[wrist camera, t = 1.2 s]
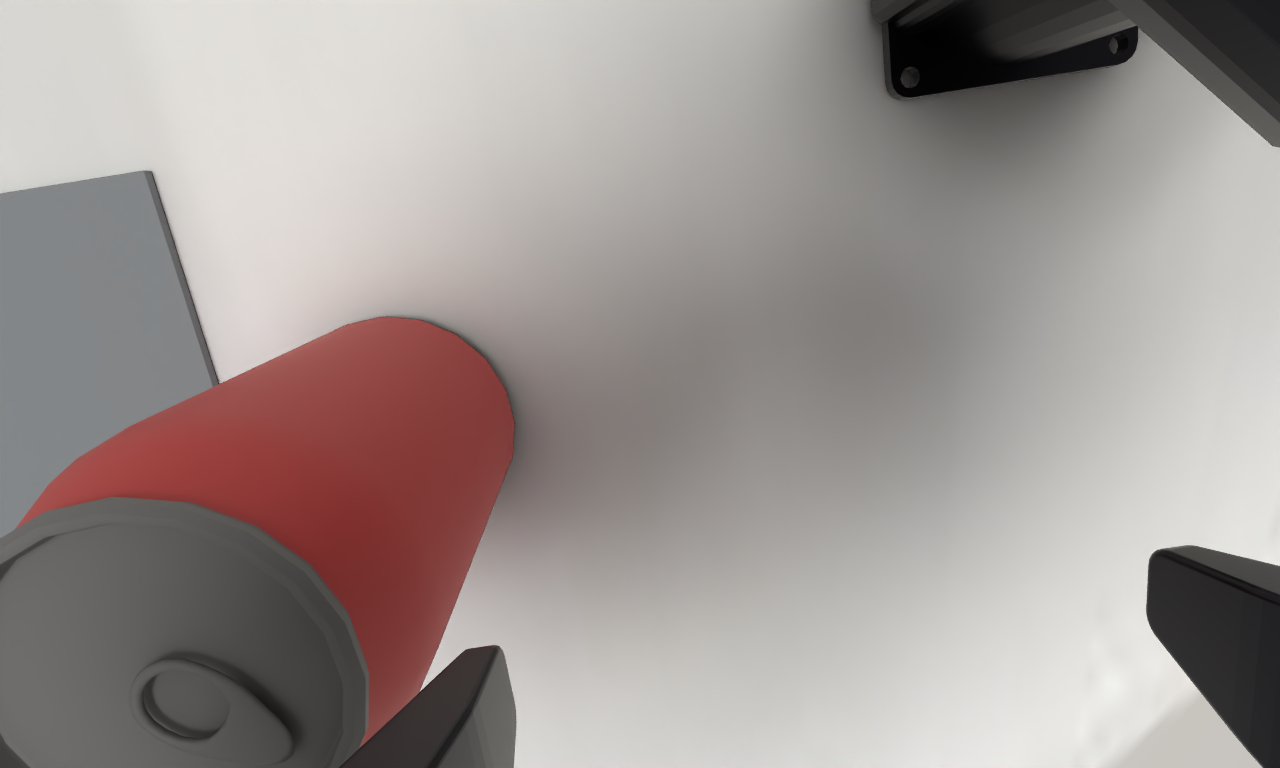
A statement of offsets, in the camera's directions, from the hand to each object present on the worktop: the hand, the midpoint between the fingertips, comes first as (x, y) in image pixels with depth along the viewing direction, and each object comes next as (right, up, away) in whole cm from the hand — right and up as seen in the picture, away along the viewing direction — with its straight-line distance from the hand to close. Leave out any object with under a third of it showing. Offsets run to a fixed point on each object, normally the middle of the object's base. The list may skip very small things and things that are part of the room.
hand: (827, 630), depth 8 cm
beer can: (-9, +2, +13) cm, 16 cm away
